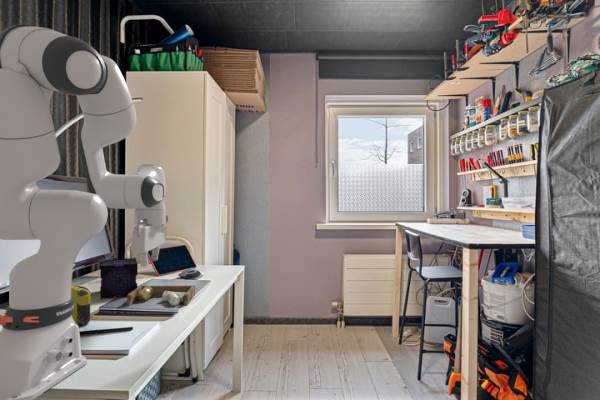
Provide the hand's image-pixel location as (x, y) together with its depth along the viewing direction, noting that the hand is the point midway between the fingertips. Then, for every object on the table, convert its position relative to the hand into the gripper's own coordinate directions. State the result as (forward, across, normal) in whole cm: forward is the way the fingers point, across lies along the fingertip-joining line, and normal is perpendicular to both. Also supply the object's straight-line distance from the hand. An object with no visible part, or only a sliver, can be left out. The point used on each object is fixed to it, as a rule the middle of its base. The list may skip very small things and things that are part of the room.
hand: (149, 263), depth 108 cm
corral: (+16, +18, +1) cm, 24 cm away
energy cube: (+17, +27, +20) cm, 37 cm away
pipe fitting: (+17, +14, -3) cm, 22 cm away
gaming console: (+17, +2, +25) cm, 30 cm away
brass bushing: (+15, +21, +7) cm, 27 cm away
